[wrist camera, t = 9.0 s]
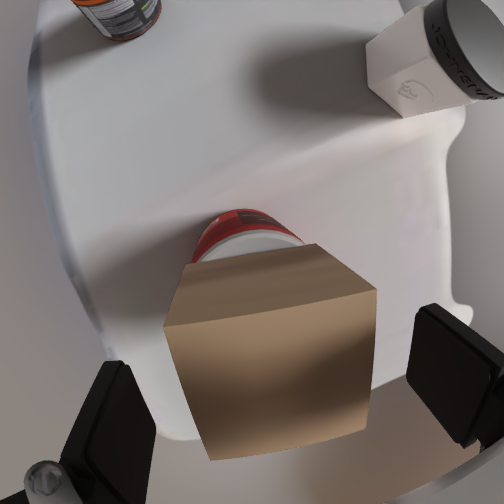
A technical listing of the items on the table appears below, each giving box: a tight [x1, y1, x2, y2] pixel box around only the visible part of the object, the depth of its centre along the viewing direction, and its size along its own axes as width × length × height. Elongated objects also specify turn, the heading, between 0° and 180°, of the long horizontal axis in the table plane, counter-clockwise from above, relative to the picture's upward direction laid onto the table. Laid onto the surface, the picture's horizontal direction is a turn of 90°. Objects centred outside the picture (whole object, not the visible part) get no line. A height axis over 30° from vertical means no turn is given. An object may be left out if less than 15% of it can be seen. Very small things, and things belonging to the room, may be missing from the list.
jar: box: [365, 0, 504, 118], centre depth 17 cm, size 9×8×12 cm
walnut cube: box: [163, 243, 377, 461], centre depth 12 cm, size 6×6×6 cm
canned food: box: [191, 209, 306, 263], centre depth 20 cm, size 8×8×11 cm
